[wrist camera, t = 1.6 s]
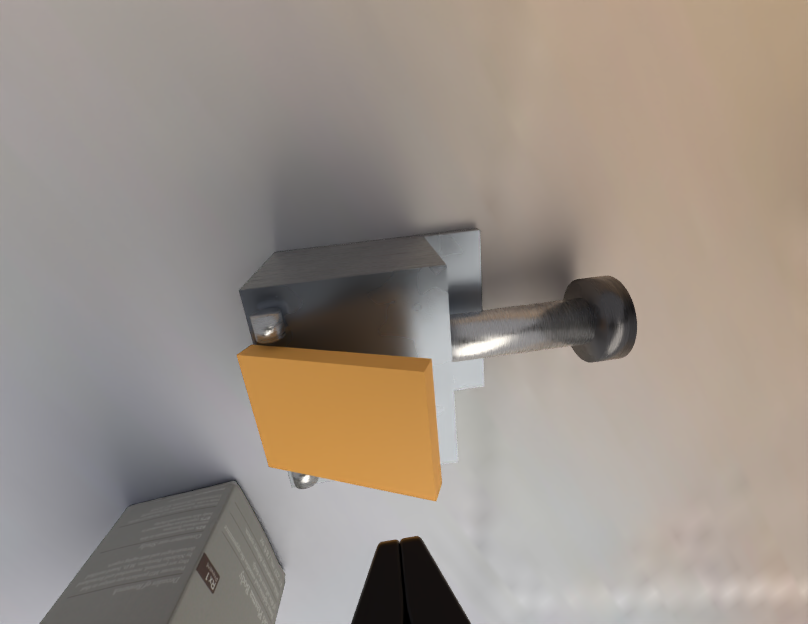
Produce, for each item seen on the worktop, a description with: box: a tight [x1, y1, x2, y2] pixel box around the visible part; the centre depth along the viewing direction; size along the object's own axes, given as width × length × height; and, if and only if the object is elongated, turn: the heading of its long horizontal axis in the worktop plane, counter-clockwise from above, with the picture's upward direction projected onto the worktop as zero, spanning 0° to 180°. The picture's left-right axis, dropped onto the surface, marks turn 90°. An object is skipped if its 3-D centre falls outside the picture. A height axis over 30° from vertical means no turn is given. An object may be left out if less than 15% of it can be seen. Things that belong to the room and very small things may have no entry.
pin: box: [450, 276, 637, 362], centre depth 17 cm, size 11×4×4 cm, turn 95°
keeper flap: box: [237, 345, 442, 501], centre depth 12 cm, size 6×4×1 cm
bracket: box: [239, 228, 484, 489], centre depth 16 cm, size 9×8×6 cm
